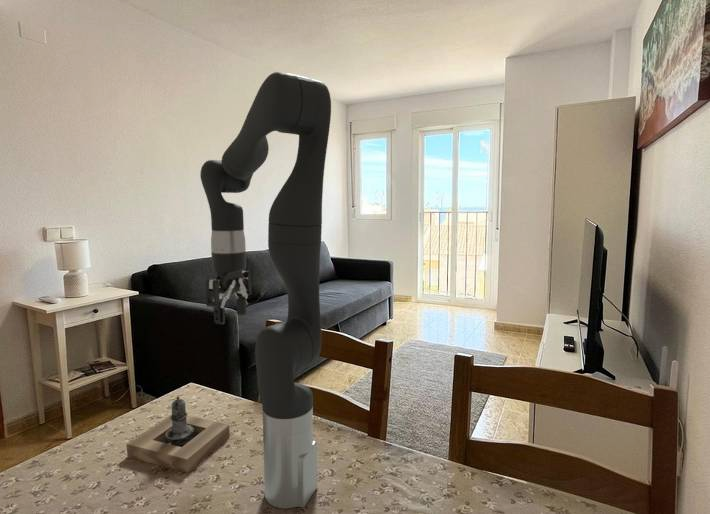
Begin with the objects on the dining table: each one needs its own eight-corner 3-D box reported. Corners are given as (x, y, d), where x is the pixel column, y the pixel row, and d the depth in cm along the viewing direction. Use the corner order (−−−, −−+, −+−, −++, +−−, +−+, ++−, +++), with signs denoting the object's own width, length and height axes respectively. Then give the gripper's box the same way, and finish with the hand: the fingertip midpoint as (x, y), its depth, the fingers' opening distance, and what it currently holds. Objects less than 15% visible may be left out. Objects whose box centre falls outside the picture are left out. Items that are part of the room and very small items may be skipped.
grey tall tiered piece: (199, 439, 96) (197, 390, 94) (186, 455, 90) (183, 403, 89) (175, 438, 97) (172, 389, 95) (161, 453, 91) (157, 401, 89)
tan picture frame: (229, 436, 98) (229, 424, 97) (187, 473, 84) (187, 459, 84) (174, 424, 103) (174, 412, 102) (127, 456, 90) (126, 443, 89)
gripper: (223, 254, 87) (226, 329, 89) (259, 247, 100) (261, 312, 103) (193, 252, 89) (197, 326, 91) (232, 246, 103) (235, 310, 105)
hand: (231, 318), depth 97 cm, fingers open, 8 cm apart
